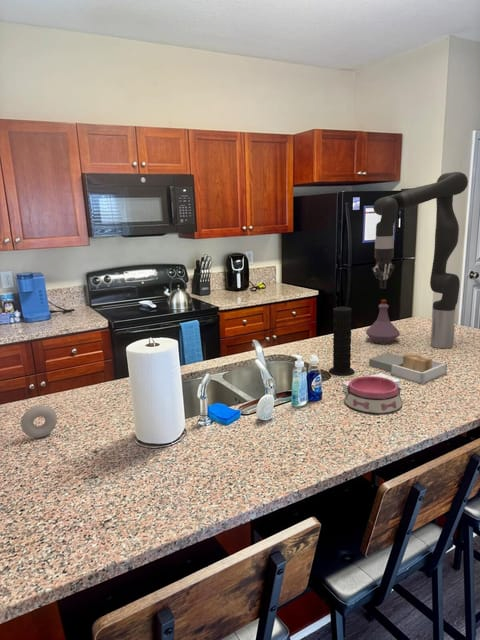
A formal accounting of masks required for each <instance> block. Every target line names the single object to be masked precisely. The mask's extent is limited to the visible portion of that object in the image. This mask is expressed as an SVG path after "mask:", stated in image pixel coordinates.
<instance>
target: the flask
mask: <svg viewBox="0 0 480 640" xmlns="http://www.w3.org/2000/svg"><path fill="white" fill-rule="evenodd" d="M389 307H390V306H389V304H387V299H381V300H380V304H378V309H379V312H378V316H377V318H376V320H375V321H374V322H373V323H372V324H371V326H369V327H368V328H366V331H365V332H366V335H367V336H368V337H369V339H370V340H371V341H372V342H373V343H377V344H382V343H383V344H385V345H386V344H391V343H393V342H394V341H395V340H396V339H398V337H399V336H401V333H400V330H398V329H397V327H396V326H395V325H394V324H393V323H392V322H391V321H390V317H389V313H388V310H389Z"/></svg>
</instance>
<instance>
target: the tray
mask: <svg viewBox="0 0 480 640" xmlns="http://www.w3.org/2000/svg"><path fill="white" fill-rule="evenodd" d="M447 371H448V363H447V362H443V361H439V360H438V361H437V360H434V359H432V369H429V370H427V371H424V372H418V371H415V370H411V369H408V368H404V367H401V366H397V365H394V364H393V365H392V371H391V372H390V373H391V375H390V376H393V377H394V376H395V377H397V378H401V379H404V380H407V381H410V382H414V383H417V384H420V385H424V384H426V383H428V382H431V381H433V380H435V379H437V378H439V377H442V376H444V375H447V373H448V372H447Z"/></svg>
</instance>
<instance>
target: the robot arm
mask: <svg viewBox="0 0 480 640" xmlns="http://www.w3.org/2000/svg"><path fill="white" fill-rule="evenodd" d="M468 183H469V180H468V176H467V175H466V174H465V173H463V172H461V171H453V172H445V173H443V174H441V175H440V176H439V177H438V178H437V180H436V182H433V183H430V184H426V185H420V186H416V187H413V188H409V189H407V190H403V191H401V192H398V193H396V194H392V195H388V196H384V197H380V198H378V199H376V201H375V202H374V204H373V205H372V206H373V211H374V213H375V214H376V215H378V216H380V221H378V222H377V223H376V225H375V241H374V259H375V260H376V262H375V266H374V267H372V268H371V270H372V272H373V274H374V276H375V278H376V279H378V280H379V285H378V286H379V288H380V289H386V288H387V282H388V281H387V280H388V279H389V278H391V275H392V274H393V272H394V270H395V268H396V265H395V264H392V259H394V252H395V247H394V245H395V237H394V235H395V234H394V231H395V227H394V225H395V223H396V221H397V215H398V211H399V210H400V211H401V210H405V209H409V208H412V207H415V206H418V205H420V204H423V203H426V202H429V201H432V200H435V199H436V212H435V213H436V219H435V229H434V230H435V231H434V251H433V262H432V267H431V268H432V269H431V273H430V281H429V286H430V288H431V289H430V290H431V291H432V292H434V293H436V294H442V295H441V299H439V300H435V301H434V302H433V303H432V314H431V315H432V317H431V333H430V346H431V347H433V348H437V349H451V348H453V347H454V341H455V340H454V339H455V318H456V306H457V304H458V301H459V293H460V287H461V284H460V283H461V281H460V277H459V276H458V275H457V274H456V273H451V272H450V273H449V272H447V264H448V261H449V258H450V256H451V255H452V253H453V252H454V250H455V248H456V247H457V245H458V242H459V235H460V232H459V231H460V225H459V222H458V219H457V216H456V214H455V211H454V207H453V203H454V201H453V200H454V199H453V198H454V196H457V195H459V194H462V193H463V192H464V191H466V189H467V187H468Z"/></svg>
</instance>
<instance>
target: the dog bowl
mask: <svg viewBox="0 0 480 640" xmlns="http://www.w3.org/2000/svg"><path fill="white" fill-rule="evenodd" d="M343 403H344V404H345V406H346V407H347V408H349V409H350V410H352V411H354V412H358V413H362V414H367V415H377V416H378V415H380V416H381V415H383V416H384V415H390V414H394V413H397V412H398V411H400V410H401V409H402V408H403V401H402V398H401V390H400V388H399V386H398V384H397V383H396V382H395V381H393V380H392V379H389V378H386V377H381V376H373V375H371V376H370V375H369V376H368V375H367V376H366V375H365V376H359V377H355V378H353V379H351V380H350V381H349V383H348V385H347V388H346V393H345V397H343Z"/></svg>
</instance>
